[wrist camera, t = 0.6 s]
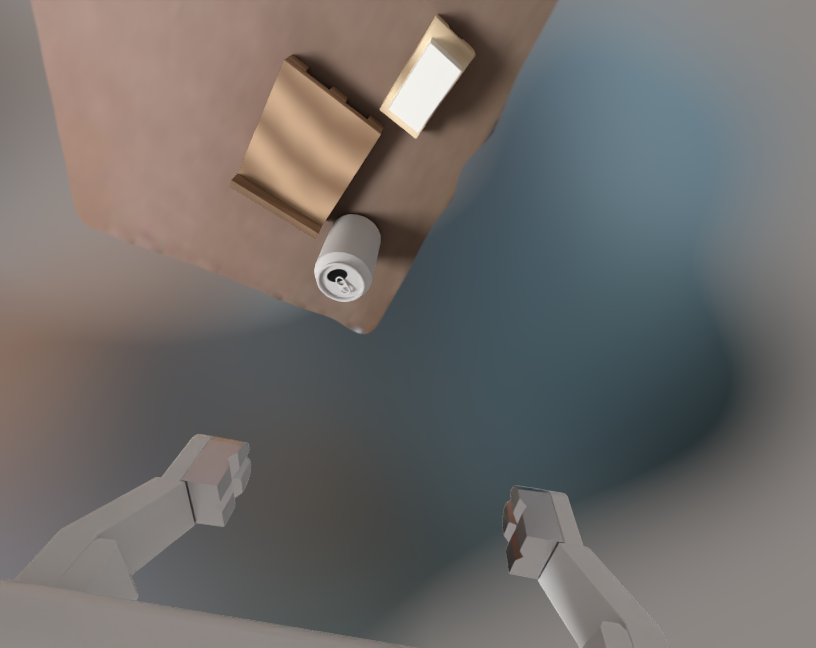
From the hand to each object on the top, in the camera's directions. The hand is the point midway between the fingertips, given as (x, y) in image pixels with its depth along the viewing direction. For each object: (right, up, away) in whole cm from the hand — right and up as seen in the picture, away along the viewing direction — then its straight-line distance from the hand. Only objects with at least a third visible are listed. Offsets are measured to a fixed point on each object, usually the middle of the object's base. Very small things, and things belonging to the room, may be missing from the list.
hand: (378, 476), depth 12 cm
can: (-7, +18, +46) cm, 49 cm away
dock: (-11, +27, +37) cm, 47 cm away
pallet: (+3, +32, +31) cm, 45 cm away
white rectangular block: (+3, +30, +29) cm, 42 cm away
